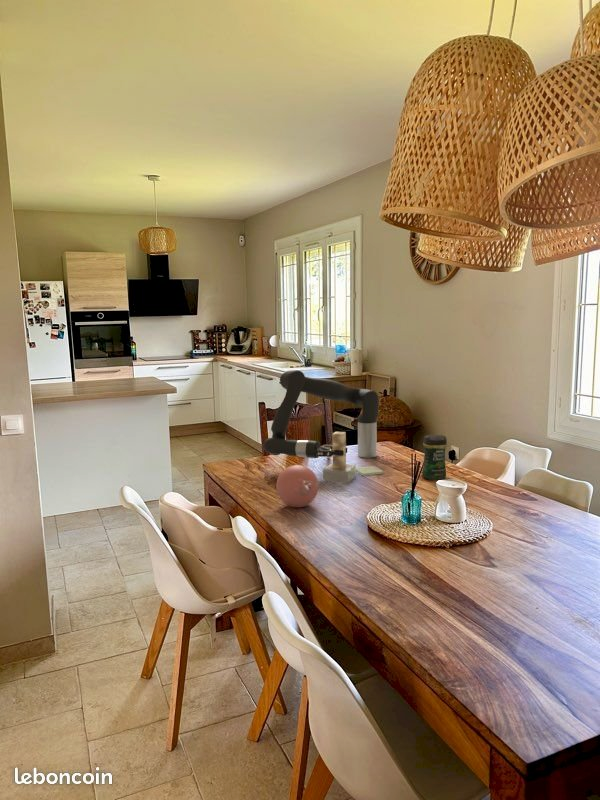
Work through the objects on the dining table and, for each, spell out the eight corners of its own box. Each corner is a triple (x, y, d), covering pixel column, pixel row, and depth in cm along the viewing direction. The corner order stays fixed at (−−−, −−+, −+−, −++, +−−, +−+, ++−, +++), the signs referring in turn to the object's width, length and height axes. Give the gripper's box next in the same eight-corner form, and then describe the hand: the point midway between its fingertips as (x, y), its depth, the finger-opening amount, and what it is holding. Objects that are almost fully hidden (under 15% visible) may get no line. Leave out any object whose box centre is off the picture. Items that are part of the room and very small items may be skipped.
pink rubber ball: (285, 519, 195) (284, 476, 193) (272, 501, 215) (271, 462, 212) (327, 514, 199) (327, 472, 197) (311, 497, 218) (311, 459, 216)
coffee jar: (427, 481, 238) (428, 437, 235) (419, 476, 245) (420, 434, 243) (449, 479, 239) (449, 436, 237) (440, 474, 247) (441, 432, 244)
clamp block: (323, 480, 241) (322, 469, 240) (331, 474, 251) (331, 463, 250) (347, 483, 237) (347, 471, 236) (355, 476, 247) (355, 465, 246)
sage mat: (353, 470, 257) (353, 468, 256) (373, 468, 260) (373, 465, 259) (362, 475, 247) (362, 473, 247) (383, 473, 250) (383, 471, 250)
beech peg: (332, 479, 243) (332, 433, 240) (336, 476, 247) (335, 431, 244) (342, 480, 241) (342, 434, 238) (346, 477, 245) (345, 432, 242)
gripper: (301, 444, 240) (340, 446, 234) (313, 437, 253) (350, 439, 247) (302, 461, 241) (340, 464, 235) (313, 453, 254) (350, 456, 248)
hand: (345, 451), depth 241 cm, fingers closed on beech peg, 4 cm apart
